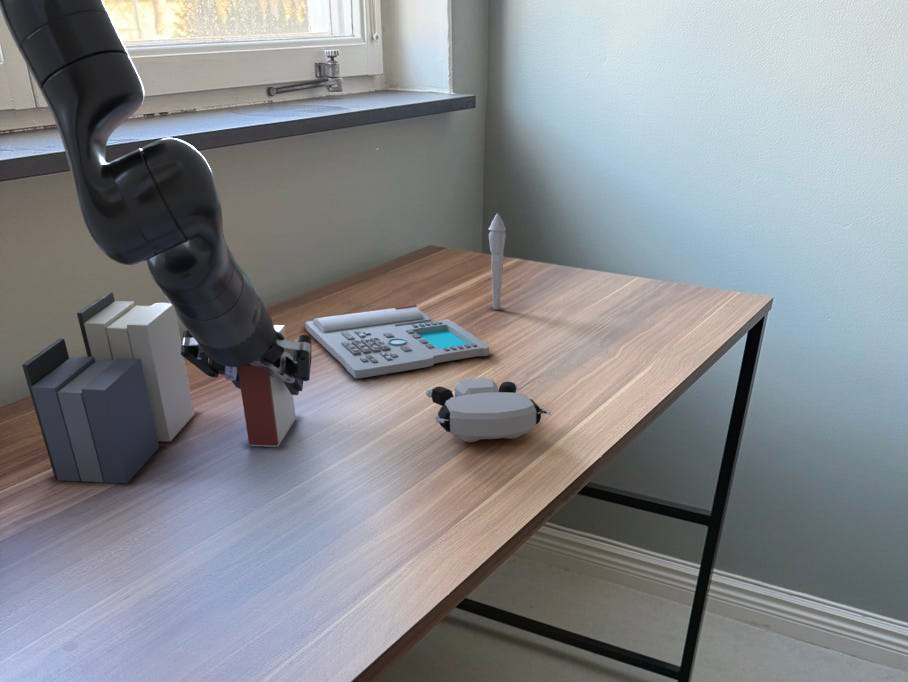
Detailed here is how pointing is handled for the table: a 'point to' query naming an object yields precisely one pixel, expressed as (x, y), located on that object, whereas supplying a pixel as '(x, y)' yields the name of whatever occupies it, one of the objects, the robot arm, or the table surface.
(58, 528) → the table surface
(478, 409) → the robot toy
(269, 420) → the cream book
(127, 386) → the grey books
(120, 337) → the white books
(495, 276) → the pen
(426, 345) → the office telephone
